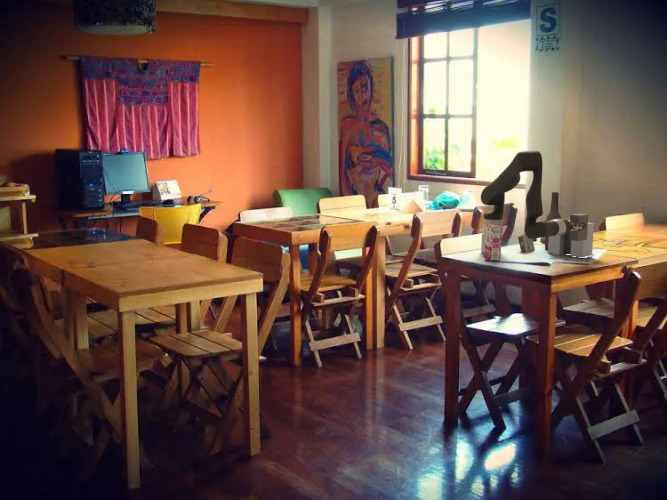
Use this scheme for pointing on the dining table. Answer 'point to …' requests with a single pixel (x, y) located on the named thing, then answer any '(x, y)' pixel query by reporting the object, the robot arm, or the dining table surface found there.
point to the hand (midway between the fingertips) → (580, 224)
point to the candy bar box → (492, 242)
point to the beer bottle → (552, 213)
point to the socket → (572, 244)
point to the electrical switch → (526, 243)
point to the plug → (577, 234)
